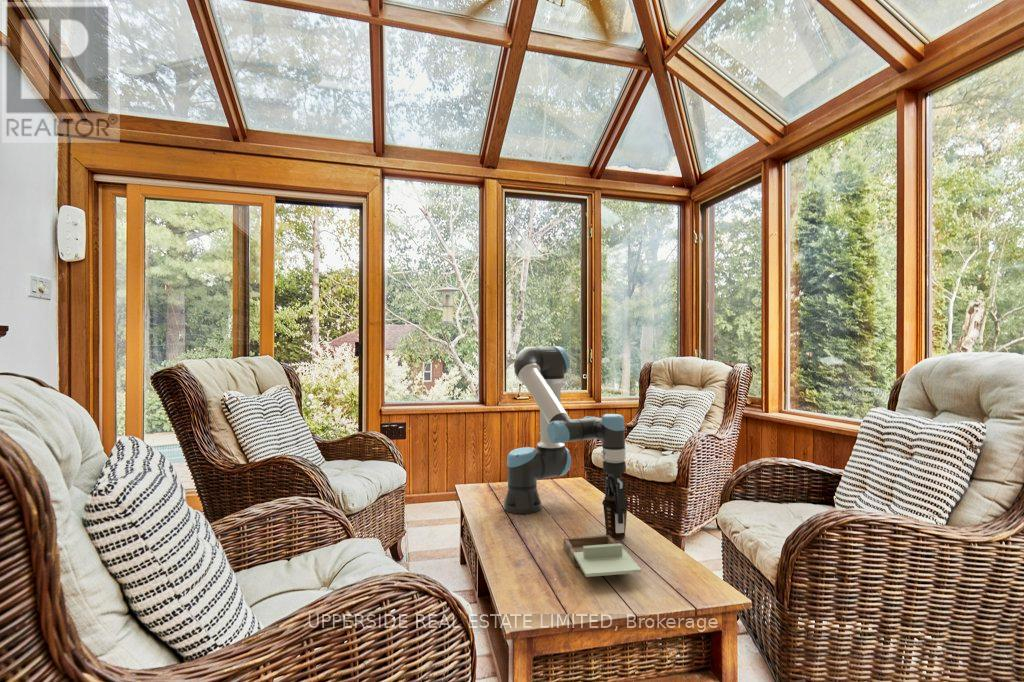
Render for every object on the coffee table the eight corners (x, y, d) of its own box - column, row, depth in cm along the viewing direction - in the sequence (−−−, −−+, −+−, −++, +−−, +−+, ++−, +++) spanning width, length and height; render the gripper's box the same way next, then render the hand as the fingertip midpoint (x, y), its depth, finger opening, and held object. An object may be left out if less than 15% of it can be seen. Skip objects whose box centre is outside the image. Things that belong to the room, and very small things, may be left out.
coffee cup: (630, 532, 171) (629, 494, 171) (627, 542, 163) (626, 502, 164) (604, 530, 174) (604, 492, 174) (601, 539, 166) (600, 500, 166)
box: (563, 548, 160) (563, 538, 160) (609, 544, 161) (609, 534, 161) (574, 567, 146) (573, 556, 146) (624, 563, 147) (624, 552, 148)
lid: (573, 555, 146) (573, 542, 146) (623, 551, 148) (623, 538, 148) (586, 576, 132) (585, 562, 132) (641, 572, 134) (641, 558, 134)
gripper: (594, 454, 179) (596, 518, 179) (612, 468, 159) (614, 540, 158) (615, 453, 180) (616, 517, 180) (635, 466, 159) (637, 538, 159)
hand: (615, 527), depth 169 cm, fingers closed on coffee cup, 8 cm apart
